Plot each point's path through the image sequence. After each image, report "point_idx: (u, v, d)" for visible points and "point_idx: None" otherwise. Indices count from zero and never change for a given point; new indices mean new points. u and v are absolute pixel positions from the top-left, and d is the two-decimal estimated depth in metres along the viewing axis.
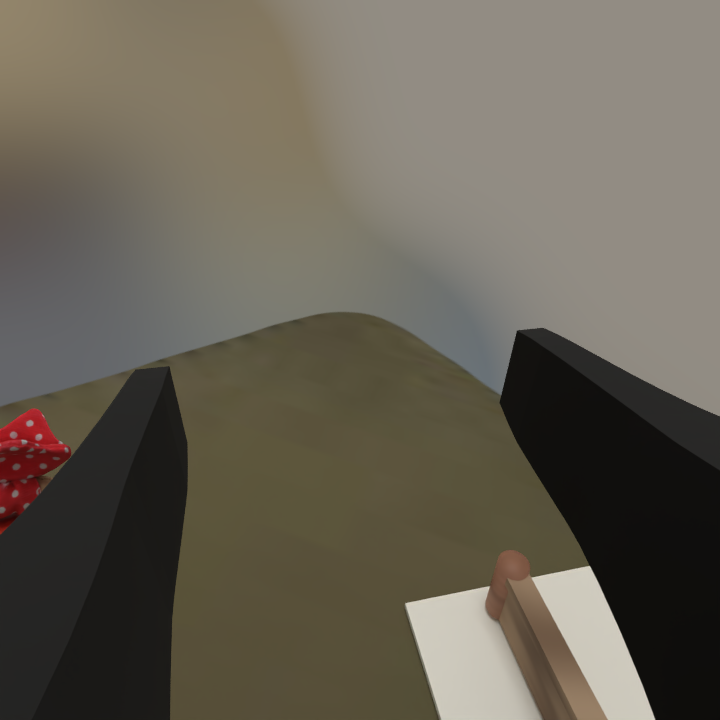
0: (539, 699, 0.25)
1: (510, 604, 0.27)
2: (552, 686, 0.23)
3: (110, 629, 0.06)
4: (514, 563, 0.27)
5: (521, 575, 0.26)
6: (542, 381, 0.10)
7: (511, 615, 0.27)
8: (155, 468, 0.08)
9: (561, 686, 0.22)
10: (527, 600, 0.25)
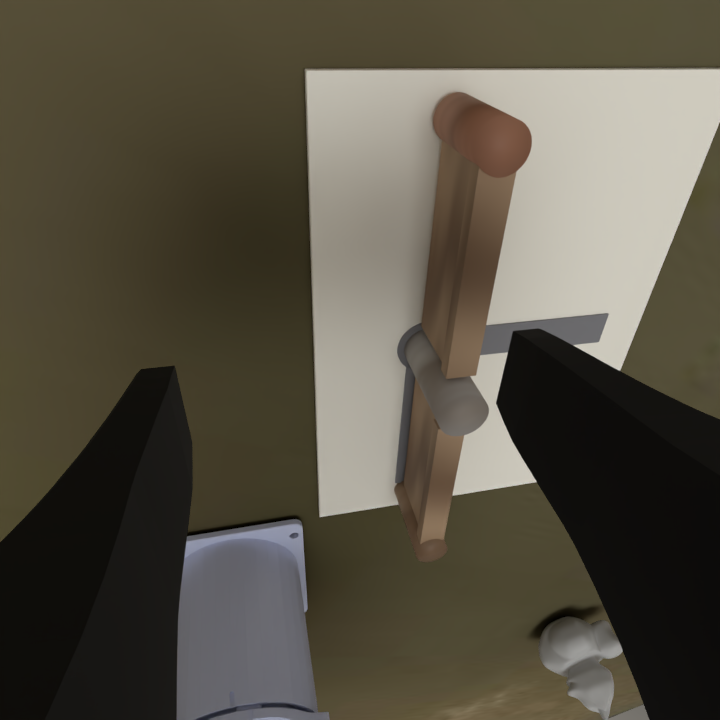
0: (433, 258, 0.20)
1: (464, 172, 0.17)
2: (450, 289, 0.19)
3: (120, 626, 0.06)
4: (506, 148, 0.15)
5: (503, 171, 0.15)
6: (538, 382, 0.10)
7: (457, 178, 0.17)
8: (161, 467, 0.08)
9: (456, 318, 0.18)
10: (485, 211, 0.16)
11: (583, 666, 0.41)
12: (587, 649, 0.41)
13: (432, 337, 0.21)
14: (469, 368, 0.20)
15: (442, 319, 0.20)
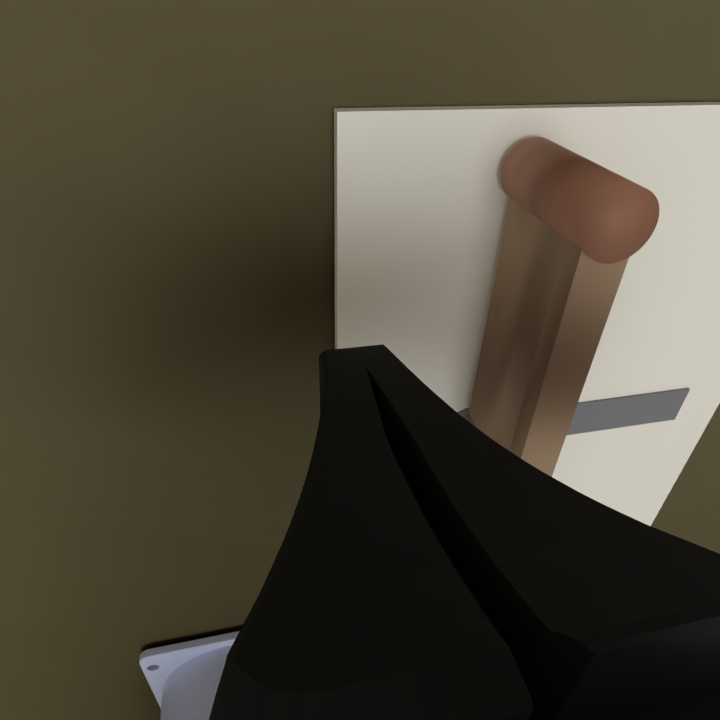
0: (491, 340, 0.16)
1: (548, 246, 0.12)
2: (518, 387, 0.15)
3: None
4: (623, 226, 0.10)
5: (614, 255, 0.11)
6: None
7: (536, 251, 0.13)
8: None
9: (529, 430, 0.14)
10: (583, 303, 0.12)
11: None
12: None
13: (486, 433, 0.17)
14: None
15: (503, 418, 0.16)
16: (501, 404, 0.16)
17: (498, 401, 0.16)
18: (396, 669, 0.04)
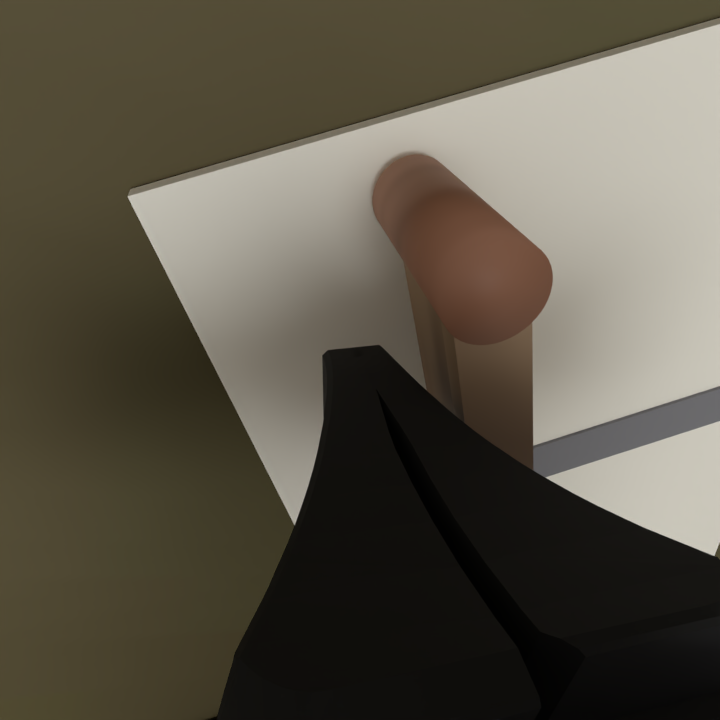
0: None
1: None
2: None
3: None
4: (499, 294, 0.07)
5: (503, 329, 0.08)
6: None
7: (431, 311, 0.10)
8: None
9: None
10: (487, 390, 0.08)
11: None
12: None
13: None
14: None
15: None
16: None
17: None
18: (402, 668, 0.04)
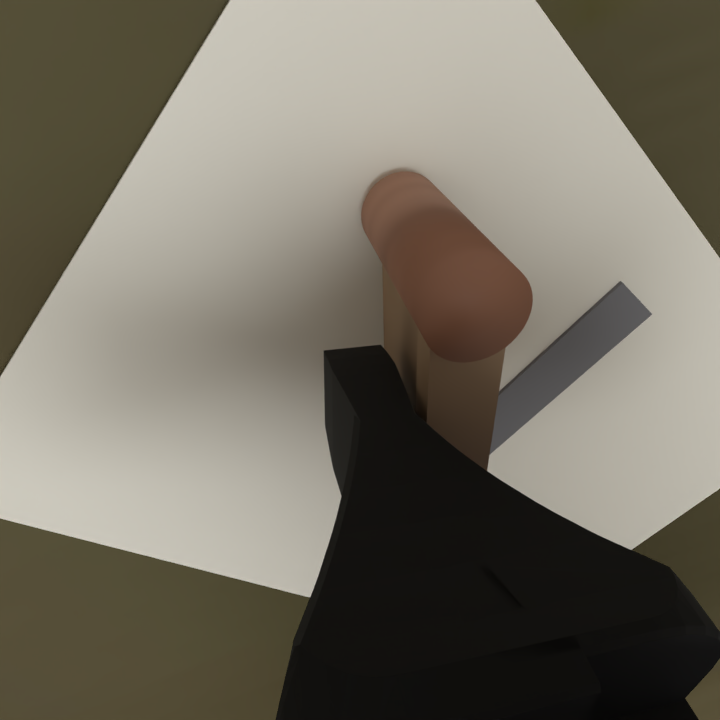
0: None
1: (413, 323, 0.09)
2: None
3: None
4: (480, 313, 0.07)
5: (478, 349, 0.08)
6: (335, 407, 0.10)
7: (405, 325, 0.10)
8: None
9: None
10: (452, 408, 0.08)
11: None
12: None
13: None
14: None
15: None
16: None
17: None
18: (464, 654, 0.04)
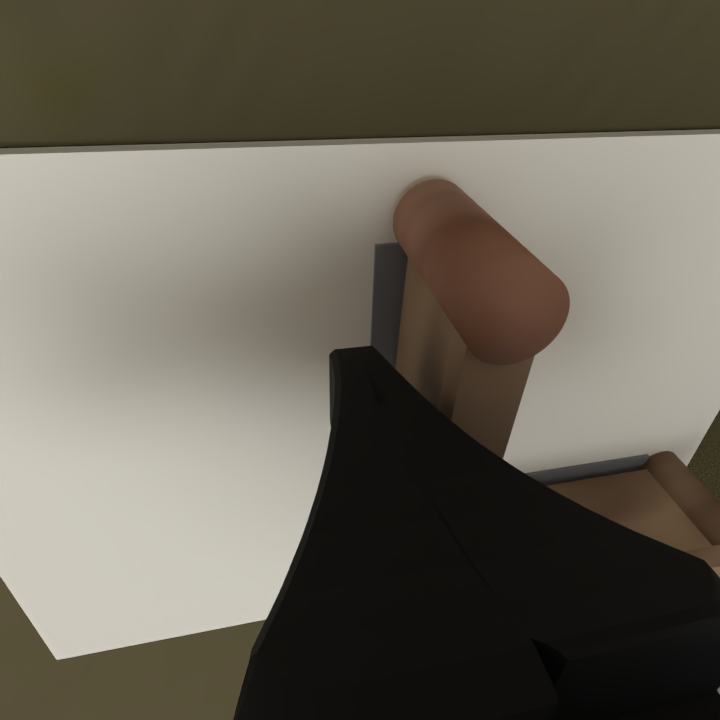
0: None
1: (441, 325, 0.09)
2: None
3: None
4: (519, 319, 0.08)
5: (511, 353, 0.08)
6: None
7: (430, 327, 0.10)
8: None
9: None
10: (477, 409, 0.09)
11: None
12: None
13: None
14: None
15: None
16: None
17: None
18: (420, 664, 0.04)
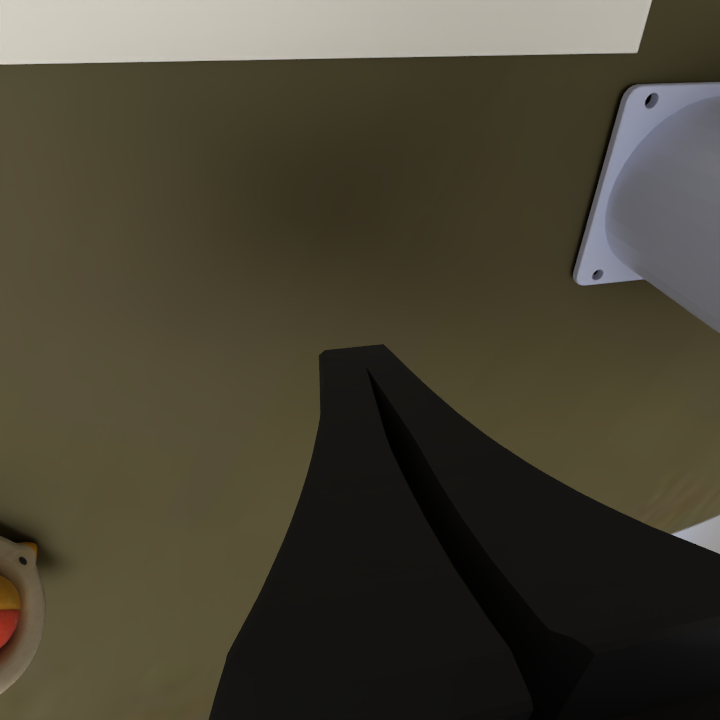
0: None
1: None
2: None
3: None
4: None
5: None
6: None
7: None
8: None
9: None
10: None
11: None
12: None
13: None
14: None
15: None
16: None
17: None
18: (394, 669, 0.04)
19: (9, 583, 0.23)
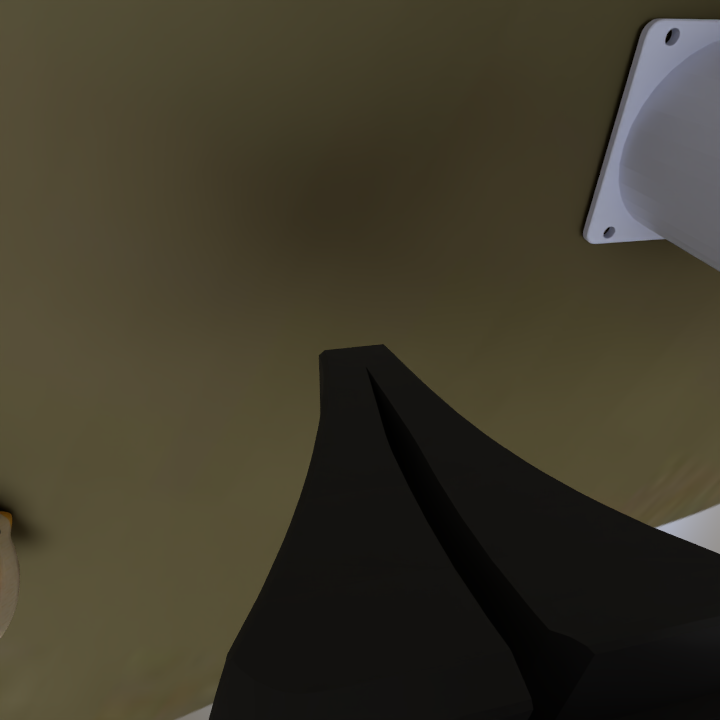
0: None
1: None
2: None
3: None
4: None
5: None
6: None
7: None
8: None
9: None
10: None
11: None
12: None
13: None
14: None
15: None
16: None
17: None
18: (394, 670, 0.04)
19: None
